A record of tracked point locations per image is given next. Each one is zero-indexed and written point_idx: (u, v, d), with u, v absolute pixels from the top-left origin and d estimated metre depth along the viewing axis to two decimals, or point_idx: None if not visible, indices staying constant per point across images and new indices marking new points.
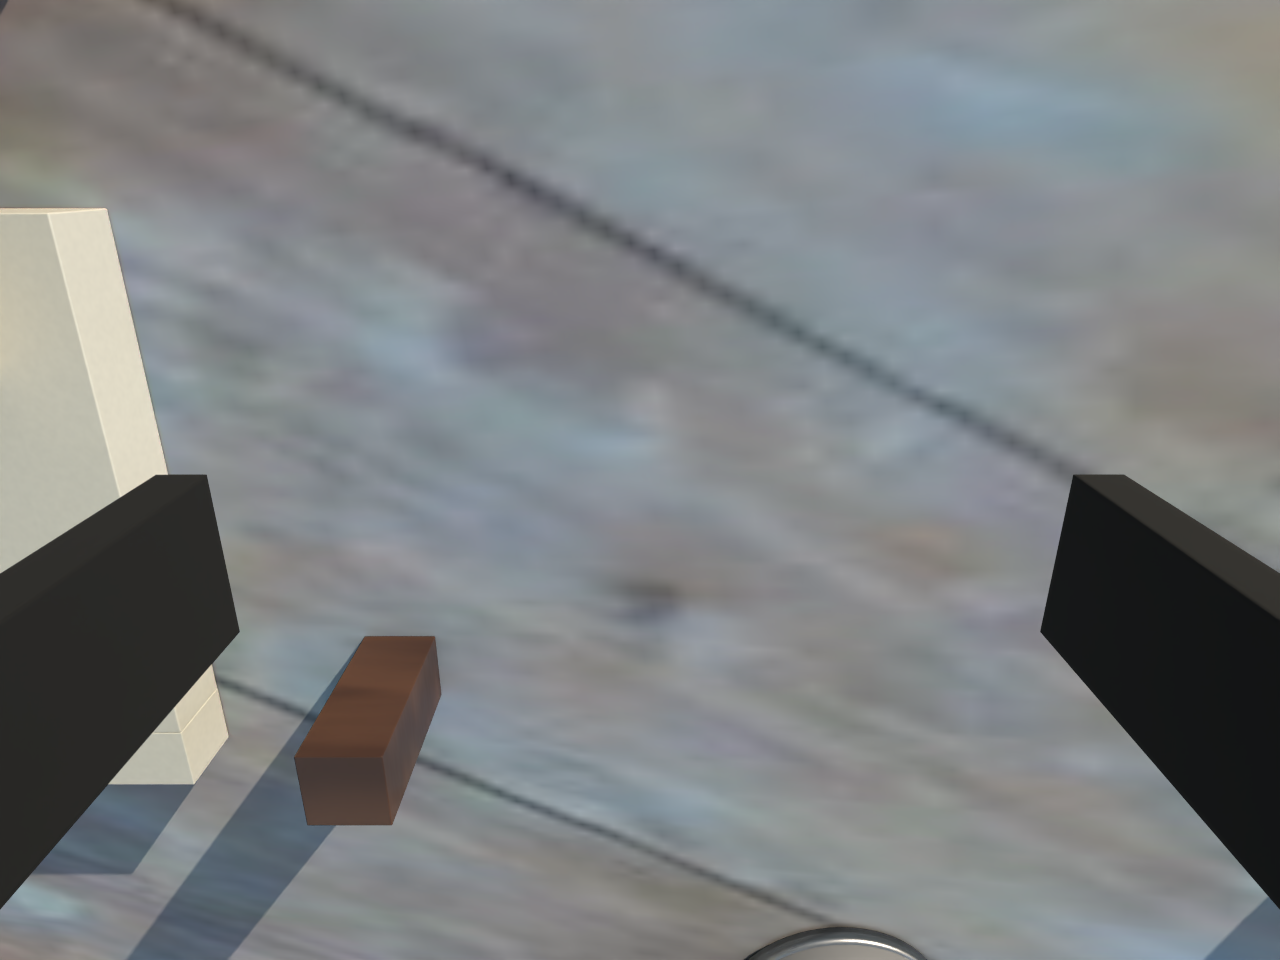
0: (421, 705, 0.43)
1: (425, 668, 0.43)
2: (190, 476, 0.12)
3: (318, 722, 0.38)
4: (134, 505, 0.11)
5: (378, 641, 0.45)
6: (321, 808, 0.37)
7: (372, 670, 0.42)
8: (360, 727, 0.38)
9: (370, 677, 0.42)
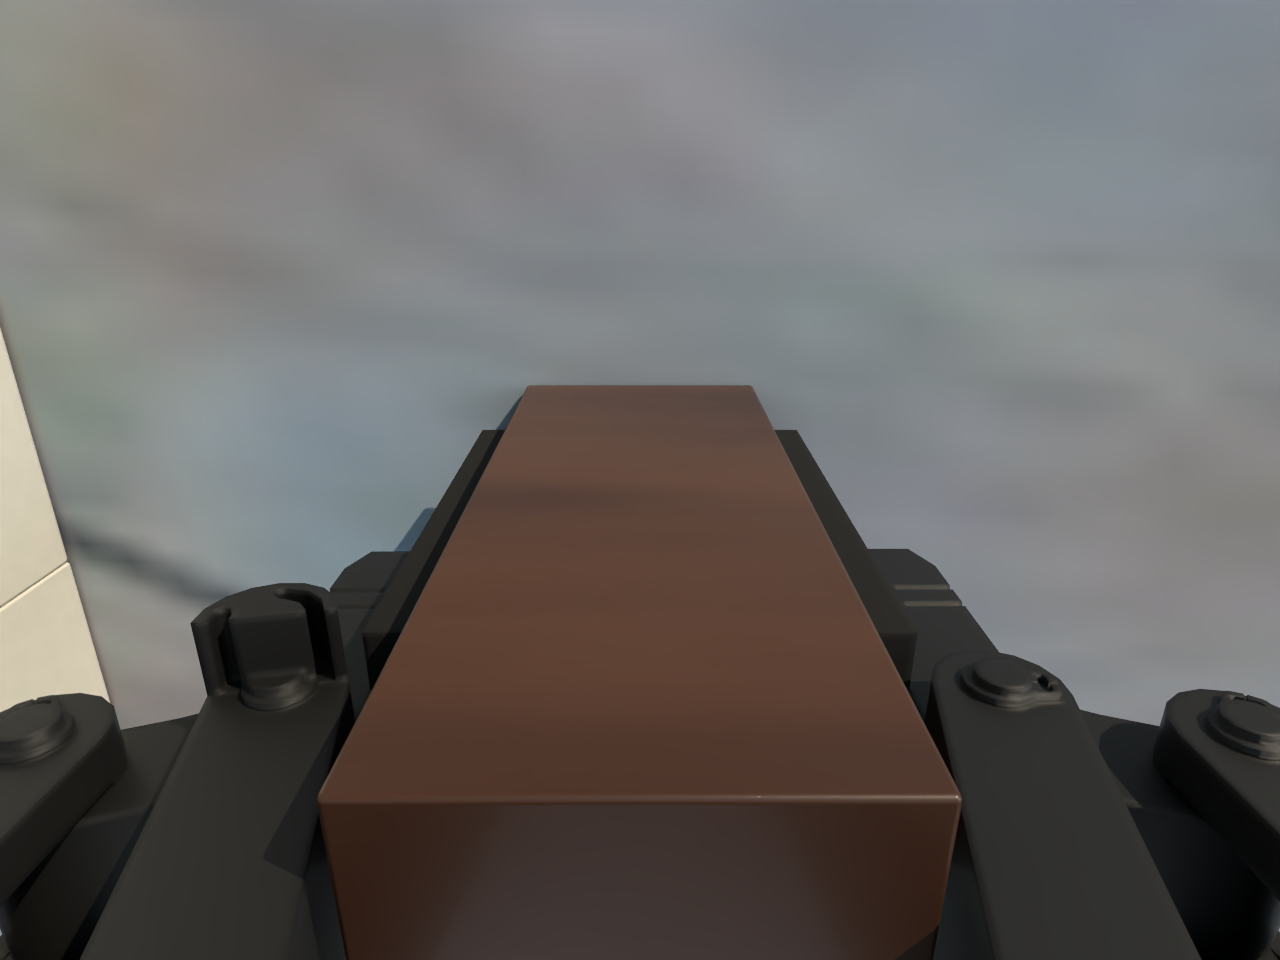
0: None
1: None
2: None
3: (440, 600, 0.07)
4: (491, 451, 0.13)
5: (578, 393, 0.14)
6: None
7: (601, 444, 0.11)
8: (682, 621, 0.07)
9: (606, 460, 0.10)
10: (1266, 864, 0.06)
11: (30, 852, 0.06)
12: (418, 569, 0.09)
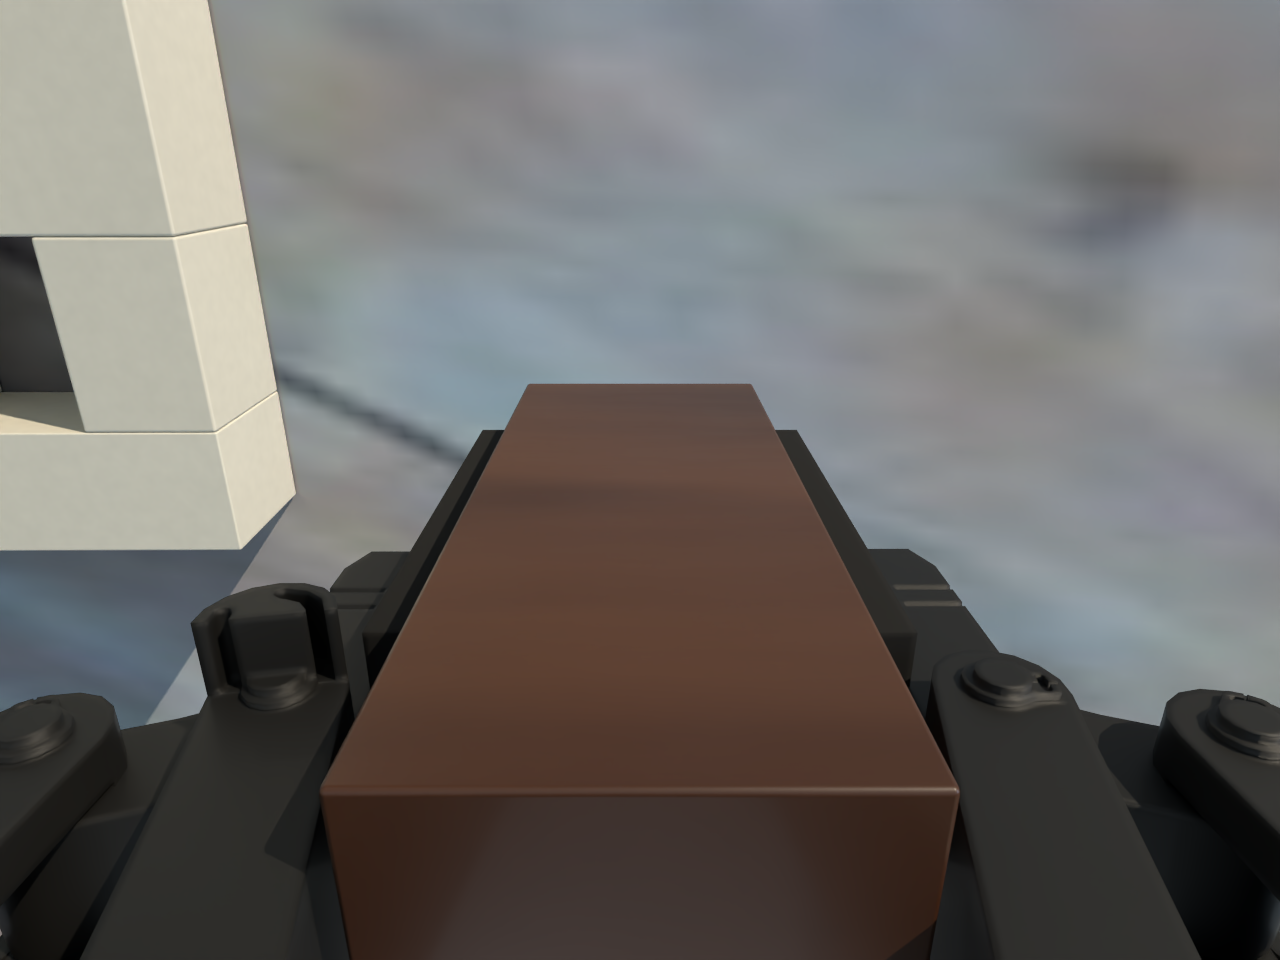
0: None
1: None
2: None
3: (441, 595, 0.07)
4: (492, 452, 0.13)
5: (578, 391, 0.14)
6: None
7: (601, 442, 0.11)
8: (682, 615, 0.07)
9: (605, 458, 0.11)
10: (1266, 864, 0.06)
11: (30, 852, 0.06)
12: (418, 569, 0.09)
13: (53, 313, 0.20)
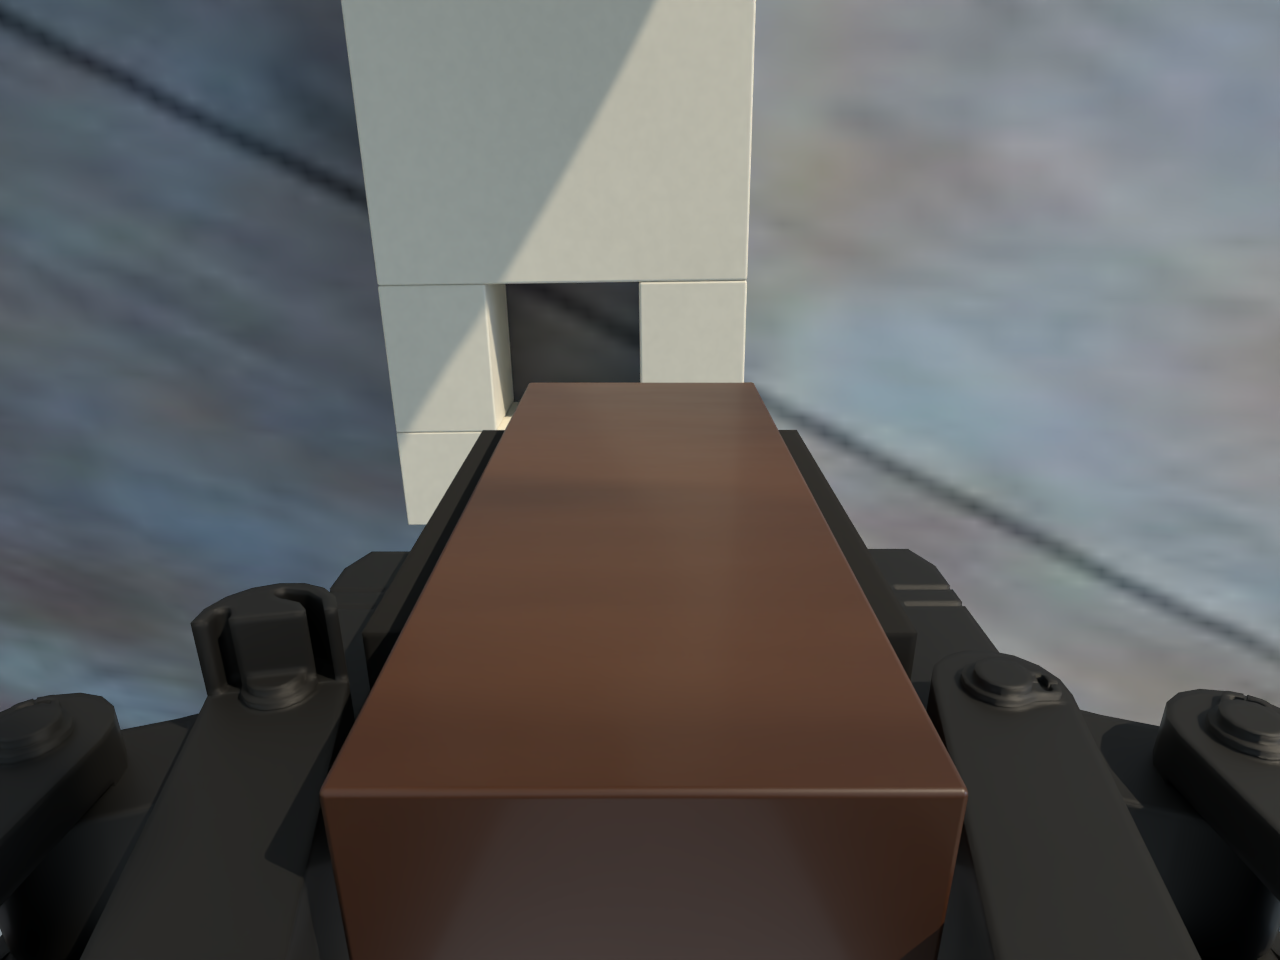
0: None
1: None
2: None
3: (442, 594, 0.07)
4: (492, 452, 0.13)
5: (579, 390, 0.14)
6: None
7: (603, 441, 0.11)
8: (684, 615, 0.07)
9: (607, 457, 0.10)
10: (1266, 864, 0.06)
11: (30, 852, 0.06)
12: (418, 569, 0.09)
13: (642, 338, 0.27)
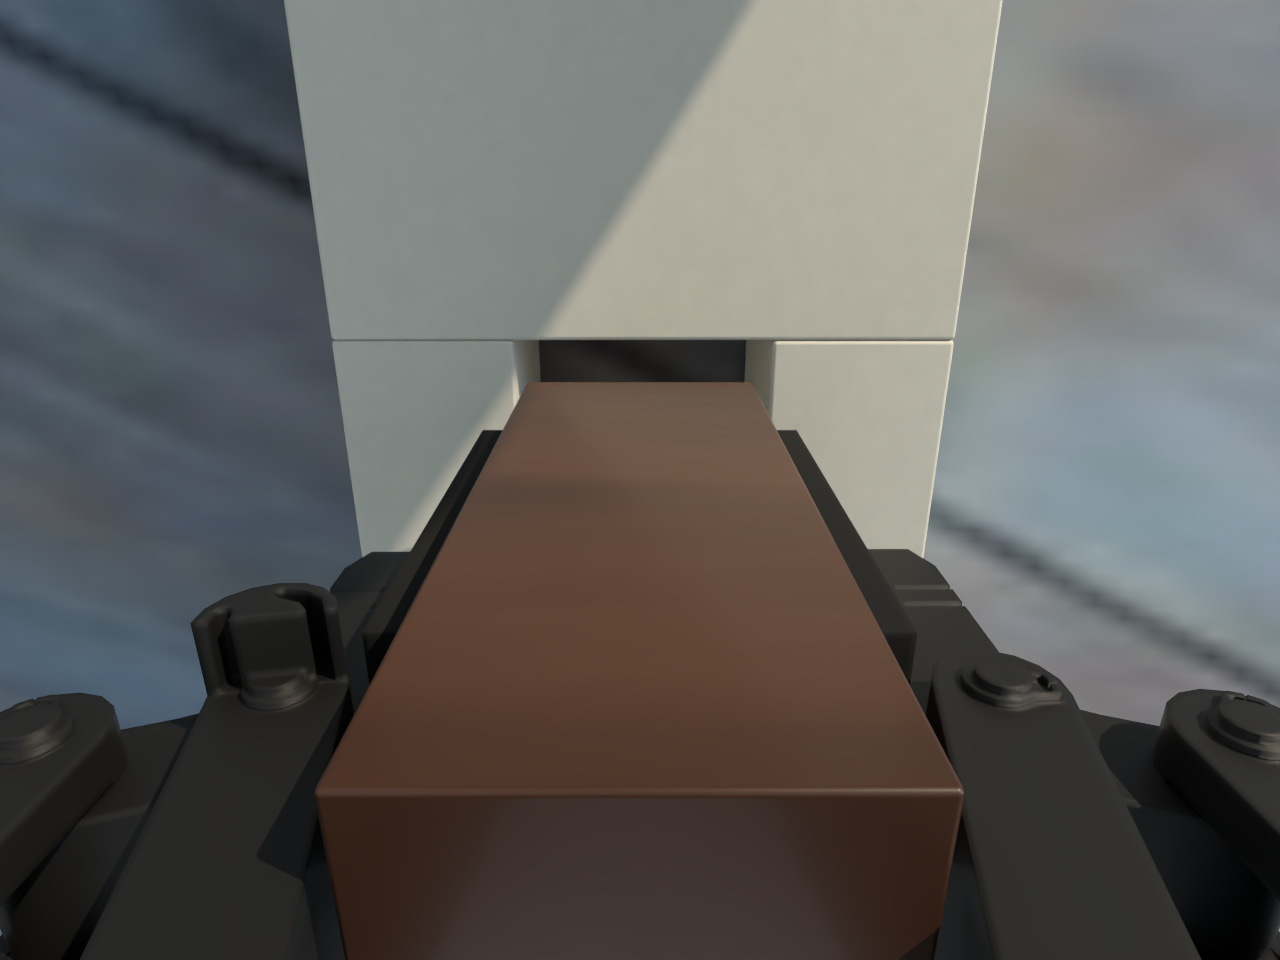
0: None
1: None
2: None
3: (439, 594, 0.07)
4: None
5: (578, 389, 0.14)
6: None
7: (601, 441, 0.11)
8: (681, 614, 0.07)
9: (606, 457, 0.10)
10: (1266, 864, 0.06)
11: (30, 852, 0.06)
12: (417, 569, 0.09)
13: None
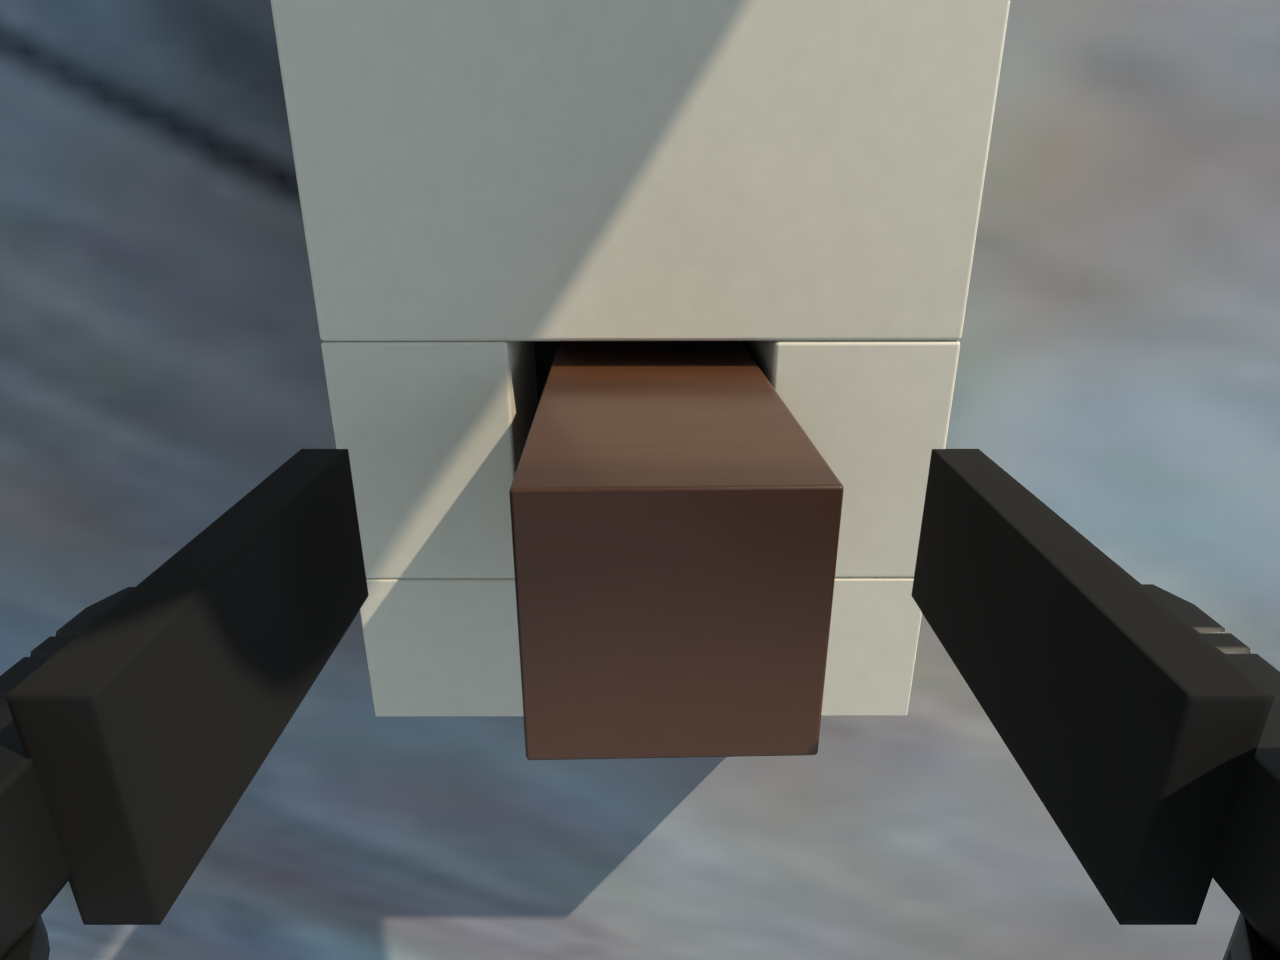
0: None
1: None
2: (333, 450, 0.13)
3: (544, 427, 0.12)
4: (295, 474, 0.12)
5: None
6: (585, 695, 0.11)
7: (626, 361, 0.16)
8: (692, 433, 0.11)
9: (632, 369, 0.15)
10: None
11: None
12: (122, 615, 0.08)
13: None
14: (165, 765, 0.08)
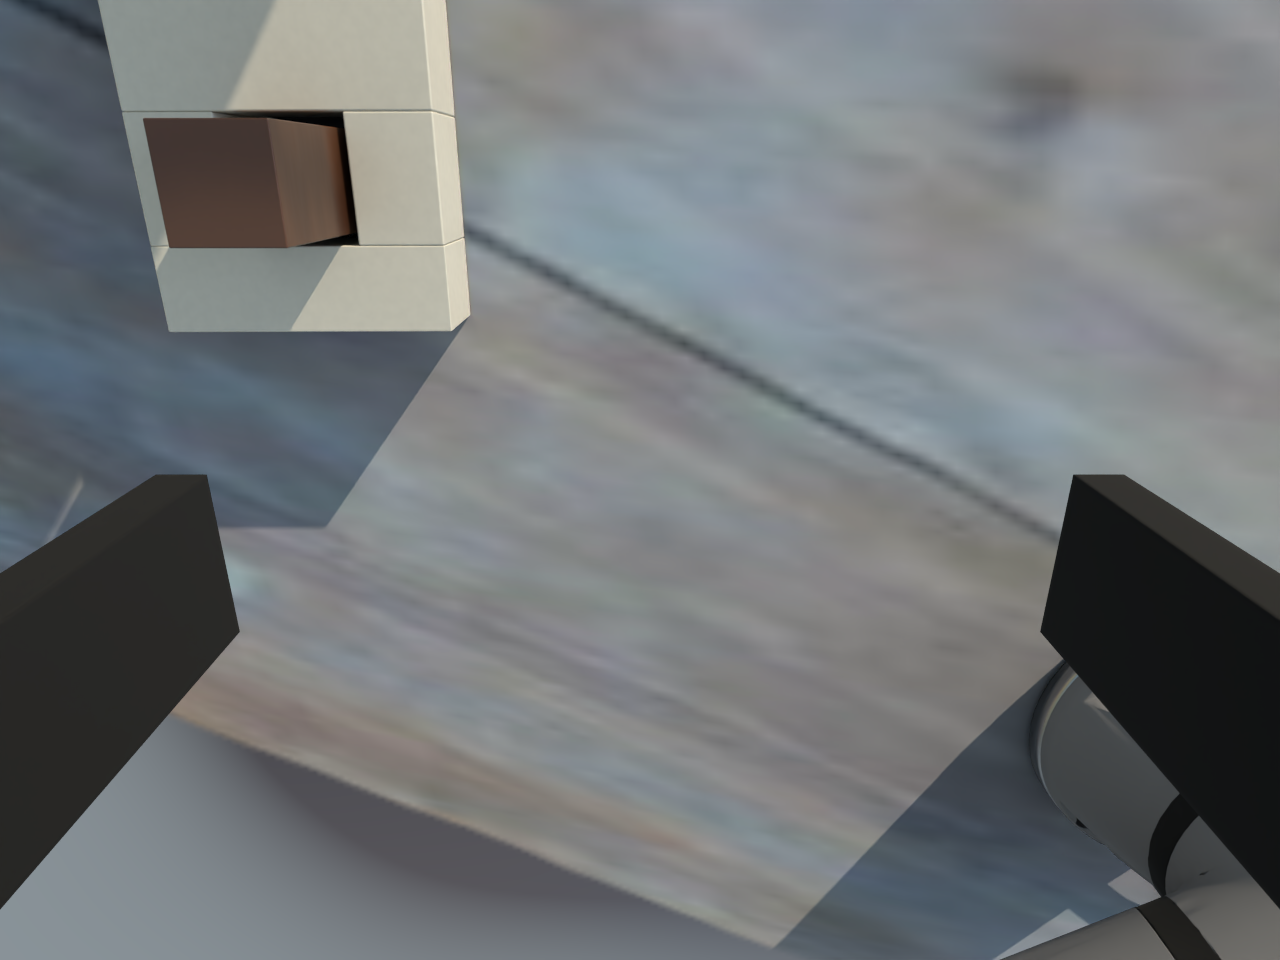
0: (343, 178, 0.32)
1: None
2: (190, 476, 0.12)
3: None
4: (134, 505, 0.11)
5: None
6: (187, 215, 0.26)
7: None
8: None
9: None
10: None
11: None
12: None
13: (350, 162, 0.31)
14: None
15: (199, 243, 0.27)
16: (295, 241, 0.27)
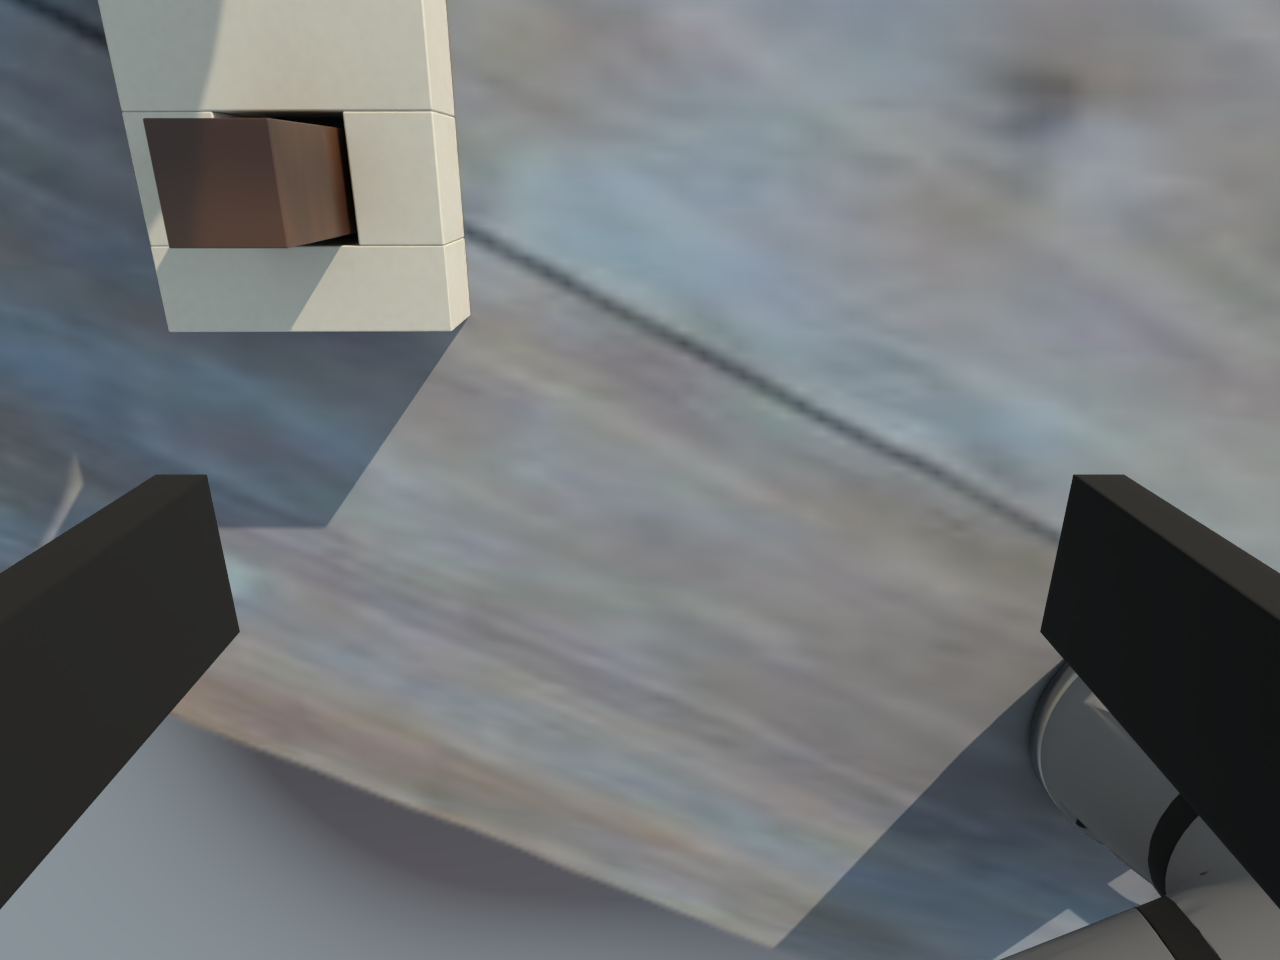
0: (343, 178, 0.32)
1: None
2: (190, 476, 0.12)
3: None
4: (134, 505, 0.11)
5: None
6: (187, 215, 0.26)
7: None
8: None
9: None
10: None
11: None
12: None
13: (350, 162, 0.31)
14: None
15: (199, 243, 0.27)
16: (295, 241, 0.27)
